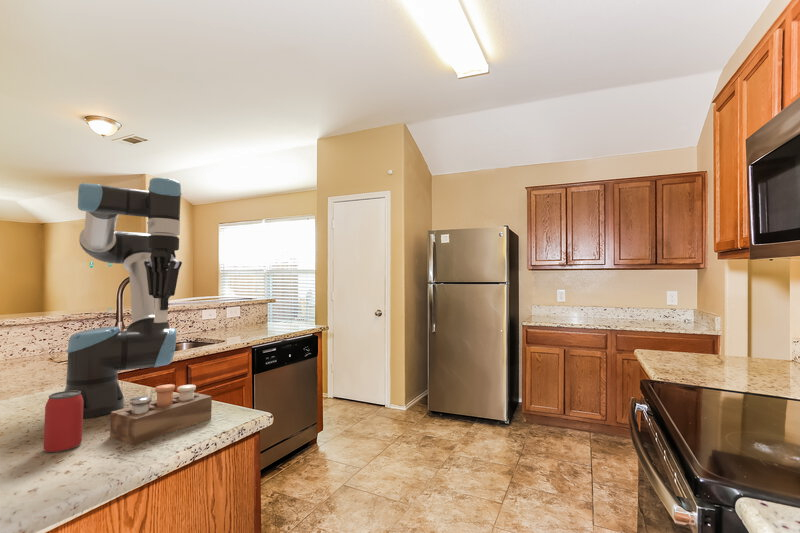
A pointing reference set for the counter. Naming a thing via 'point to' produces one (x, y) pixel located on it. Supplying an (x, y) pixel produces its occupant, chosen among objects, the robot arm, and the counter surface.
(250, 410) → the counter surface
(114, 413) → the button block
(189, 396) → the plunger white
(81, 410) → the beer can
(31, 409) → the counter surface
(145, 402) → the plunger grey
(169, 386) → the peach round knob
